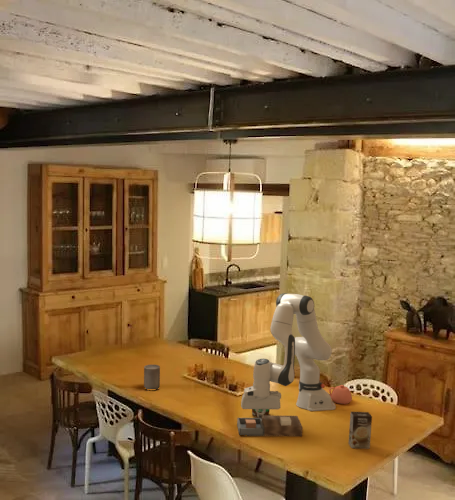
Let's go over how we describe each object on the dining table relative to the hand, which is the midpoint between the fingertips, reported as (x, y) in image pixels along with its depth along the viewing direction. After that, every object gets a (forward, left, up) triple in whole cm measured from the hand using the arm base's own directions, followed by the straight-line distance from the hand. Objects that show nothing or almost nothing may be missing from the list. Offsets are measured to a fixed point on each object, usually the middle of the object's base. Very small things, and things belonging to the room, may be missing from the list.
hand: (260, 417), depth 307 cm
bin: (+5, +3, -6) cm, 8 cm away
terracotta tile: (+5, 0, -2) cm, 5 cm away
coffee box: (-46, +22, -6) cm, 51 cm away
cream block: (-12, +7, -1) cm, 14 cm away
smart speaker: (+60, -61, -6) cm, 86 cm away
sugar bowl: (-52, -41, -6) cm, 66 cm away
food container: (-3, -16, -6) cm, 17 cm away
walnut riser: (-11, +3, -6) cm, 12 cm away
